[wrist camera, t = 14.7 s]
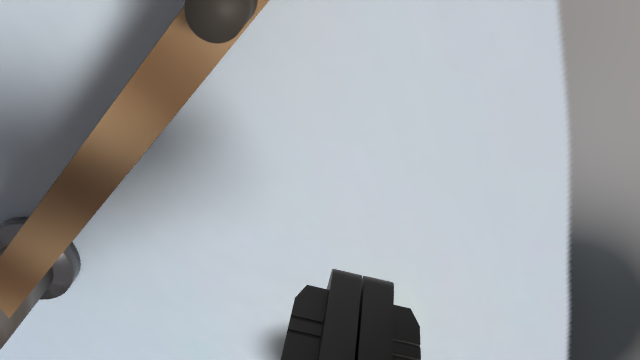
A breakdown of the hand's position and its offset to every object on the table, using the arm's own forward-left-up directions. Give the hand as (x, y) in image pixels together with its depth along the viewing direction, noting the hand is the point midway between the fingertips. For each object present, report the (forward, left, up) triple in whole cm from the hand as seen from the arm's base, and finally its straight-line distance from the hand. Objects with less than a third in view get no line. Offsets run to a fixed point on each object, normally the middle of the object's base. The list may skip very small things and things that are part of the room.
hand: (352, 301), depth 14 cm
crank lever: (-5, +11, -12) cm, 17 cm away
